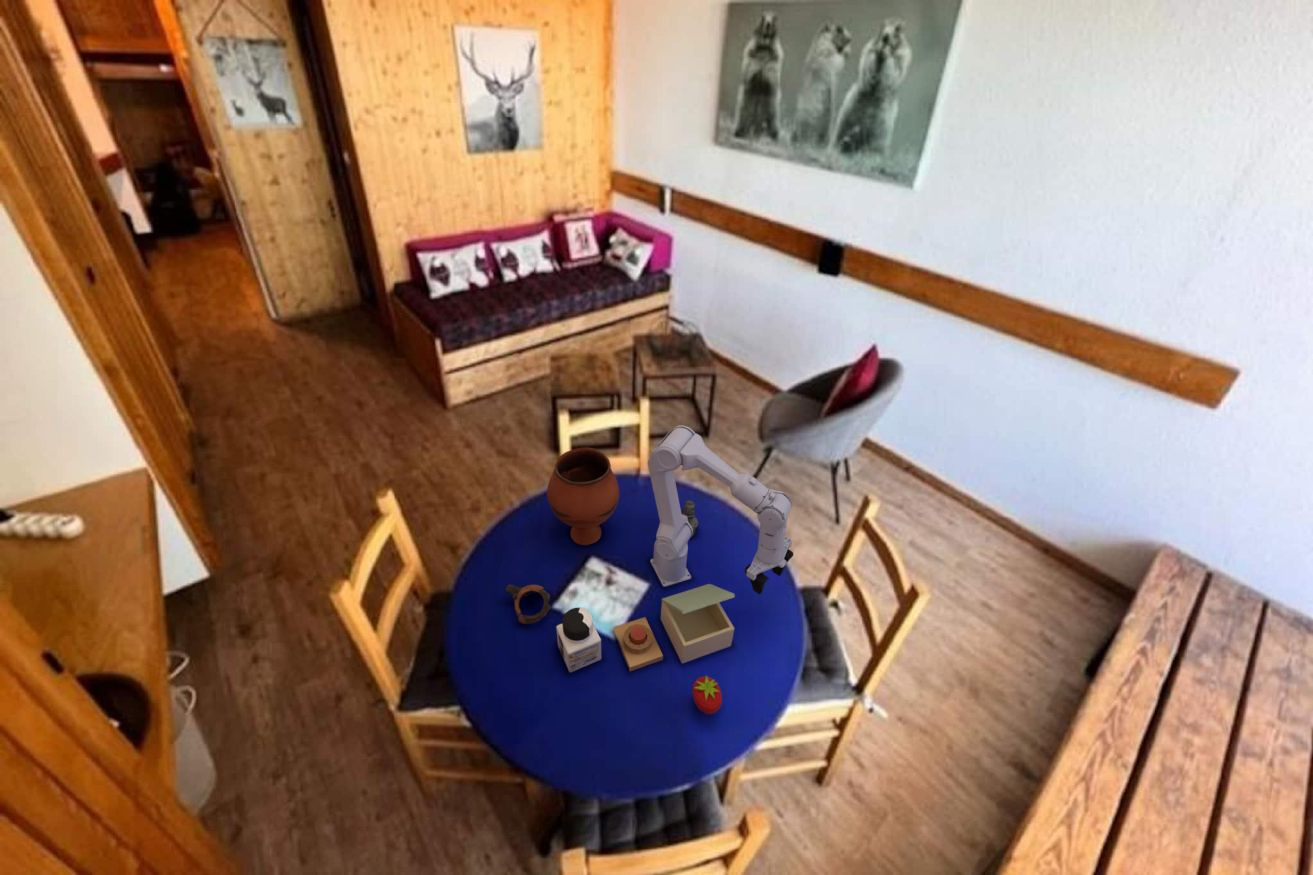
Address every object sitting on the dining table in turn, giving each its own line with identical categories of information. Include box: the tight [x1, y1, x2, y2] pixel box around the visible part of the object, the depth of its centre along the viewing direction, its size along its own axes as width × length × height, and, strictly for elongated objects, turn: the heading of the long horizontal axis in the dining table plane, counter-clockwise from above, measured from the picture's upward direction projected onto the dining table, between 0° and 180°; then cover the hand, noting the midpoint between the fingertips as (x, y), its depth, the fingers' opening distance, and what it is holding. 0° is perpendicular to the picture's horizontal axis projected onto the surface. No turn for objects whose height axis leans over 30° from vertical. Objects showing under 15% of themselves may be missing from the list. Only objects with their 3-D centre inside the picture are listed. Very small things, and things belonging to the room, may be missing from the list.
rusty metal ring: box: [505, 583, 552, 625], centre depth 138 cm, size 12×10×8 cm
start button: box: [630, 626, 646, 644], centre depth 131 cm, size 4×4×2 cm
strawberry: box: [692, 674, 723, 715], centre depth 119 cm, size 6×8×10 cm
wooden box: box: [660, 601, 735, 664], centre depth 135 cm, size 13×13×7 cm
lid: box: [661, 583, 736, 614], centre depth 130 cm, size 13×13×1 cm
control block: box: [613, 616, 664, 672], centre depth 132 cm, size 11×8×4 cm
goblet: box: [546, 447, 620, 546], centre depth 153 cm, size 19×19×25 cm
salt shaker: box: [681, 499, 699, 538], centre depth 159 cm, size 6×6×12 cm
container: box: [555, 606, 602, 673], centre depth 127 cm, size 8×8×13 cm
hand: (767, 582), depth 136 cm, fingers open, 7 cm apart
